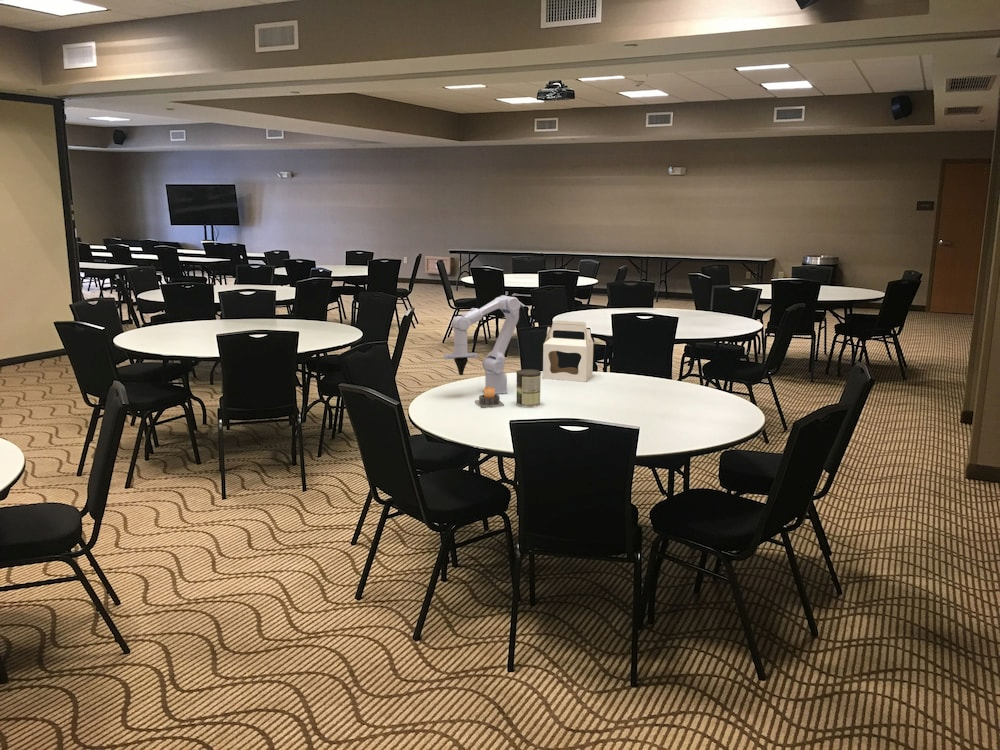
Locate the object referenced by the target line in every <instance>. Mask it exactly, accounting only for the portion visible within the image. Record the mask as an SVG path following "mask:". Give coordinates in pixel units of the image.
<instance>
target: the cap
mask: <svg viewBox="0 0 1000 750" xmlns="http://www.w3.org/2000/svg"><path fill="white" fill-rule="evenodd" d="M483 390H484V391H483V395H484V398H495V395H496V394H495V388H494V387H483Z"/></svg>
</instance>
